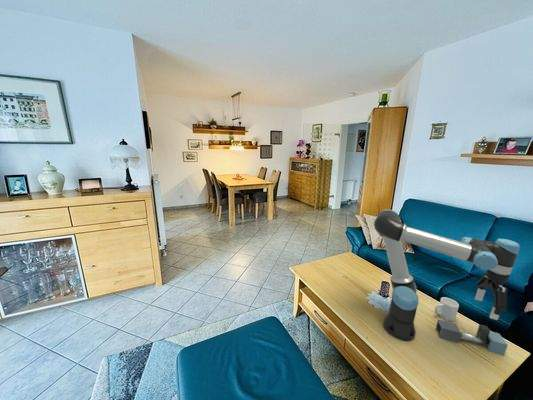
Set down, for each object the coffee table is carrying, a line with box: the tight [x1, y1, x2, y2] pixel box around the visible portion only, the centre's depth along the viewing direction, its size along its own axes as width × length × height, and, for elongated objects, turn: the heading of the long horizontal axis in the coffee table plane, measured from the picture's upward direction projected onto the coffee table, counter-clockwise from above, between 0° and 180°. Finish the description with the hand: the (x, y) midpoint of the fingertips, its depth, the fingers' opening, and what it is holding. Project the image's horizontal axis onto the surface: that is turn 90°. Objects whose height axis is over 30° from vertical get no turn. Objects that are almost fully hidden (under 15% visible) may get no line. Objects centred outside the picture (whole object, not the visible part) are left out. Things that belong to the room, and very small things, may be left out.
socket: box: [487, 330, 509, 356], centre depth 110 cm, size 6×7×6 cm
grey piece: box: [460, 324, 491, 346], centre depth 112 cm, size 15×3×9 cm, turn 69°
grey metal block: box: [435, 319, 462, 344], centre depth 116 cm, size 8×6×6 cm
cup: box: [434, 296, 460, 322], centre depth 129 cm, size 8×12×10 cm
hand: (485, 308), depth 109 cm, fingers open, 13 cm apart
